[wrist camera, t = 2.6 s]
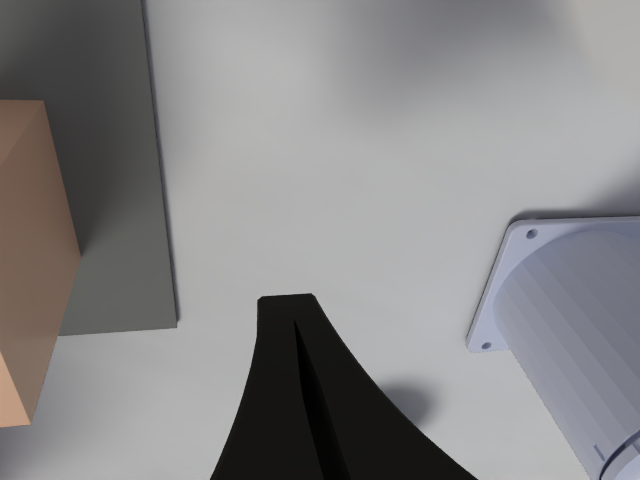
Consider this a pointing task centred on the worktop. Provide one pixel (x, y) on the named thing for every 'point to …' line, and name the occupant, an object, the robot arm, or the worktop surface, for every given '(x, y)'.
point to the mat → (98, 152)
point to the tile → (30, 256)
